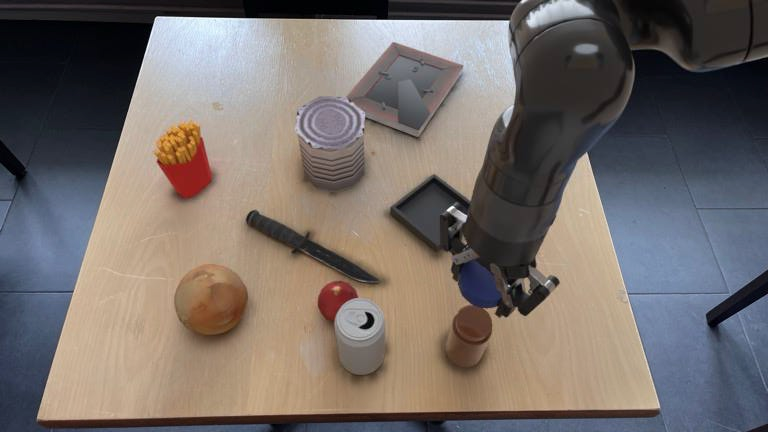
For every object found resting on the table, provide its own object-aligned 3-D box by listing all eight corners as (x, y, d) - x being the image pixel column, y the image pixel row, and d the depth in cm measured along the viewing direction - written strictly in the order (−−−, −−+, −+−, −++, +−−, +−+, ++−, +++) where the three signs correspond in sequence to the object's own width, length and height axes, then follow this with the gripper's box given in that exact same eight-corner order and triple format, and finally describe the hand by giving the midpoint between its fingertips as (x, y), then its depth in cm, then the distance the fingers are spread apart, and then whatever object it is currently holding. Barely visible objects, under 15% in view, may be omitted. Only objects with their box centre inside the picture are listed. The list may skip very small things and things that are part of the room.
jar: (489, 350, 74) (503, 321, 66) (465, 375, 72) (476, 348, 64) (461, 325, 76) (471, 295, 68) (437, 349, 74) (445, 320, 66)
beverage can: (375, 383, 71) (376, 349, 61) (332, 368, 72) (325, 333, 62) (390, 341, 75) (392, 303, 65) (348, 327, 76) (344, 288, 66)
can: (365, 144, 97) (364, 94, 88) (367, 191, 91) (366, 143, 81) (303, 146, 97) (296, 96, 87) (301, 194, 90) (293, 145, 80)
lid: (447, 284, 59) (449, 276, 58) (480, 254, 62) (482, 246, 60) (487, 318, 57) (490, 311, 55) (519, 286, 59) (523, 277, 58)
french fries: (185, 204, 88) (162, 156, 79) (169, 193, 90) (144, 144, 80) (221, 173, 93) (203, 124, 83) (205, 163, 94) (186, 114, 84)
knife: (242, 225, 85) (245, 211, 84) (261, 217, 89) (264, 204, 88) (365, 299, 77) (371, 284, 76) (380, 287, 81) (385, 273, 80)
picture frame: (418, 139, 98) (462, 74, 110) (418, 129, 96) (463, 64, 108) (342, 110, 103) (392, 50, 114) (342, 100, 101) (393, 40, 112)
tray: (479, 216, 88) (481, 209, 86) (436, 253, 84) (437, 246, 82) (432, 180, 92) (434, 173, 91) (390, 214, 88) (390, 206, 86)
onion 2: (330, 290, 79) (326, 263, 73) (365, 302, 78) (364, 276, 72) (313, 322, 76) (307, 297, 70) (349, 336, 75) (347, 312, 68)
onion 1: (171, 330, 75) (147, 298, 67) (211, 275, 80) (193, 239, 72) (227, 357, 73) (209, 327, 65) (265, 299, 78) (253, 264, 70)
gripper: (426, 184, 49) (414, 274, 62) (554, 281, 43) (510, 357, 56) (477, 144, 52) (455, 238, 65) (603, 230, 46) (550, 313, 60)
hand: (481, 293), depth 61 cm, fingers closed on lid, 5 cm apart
